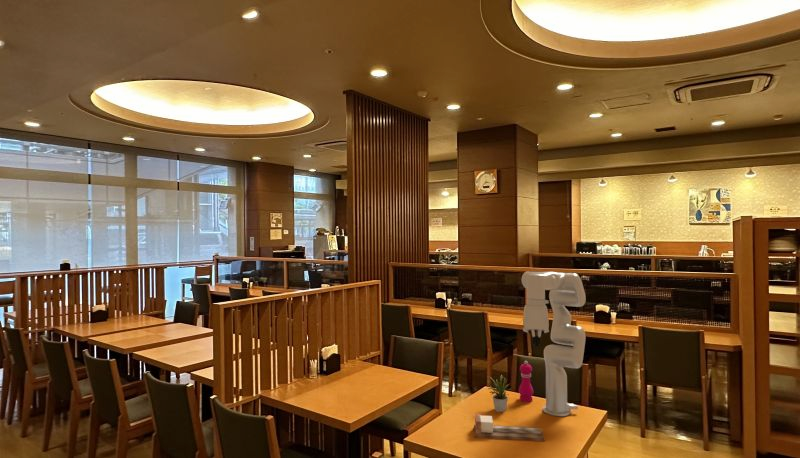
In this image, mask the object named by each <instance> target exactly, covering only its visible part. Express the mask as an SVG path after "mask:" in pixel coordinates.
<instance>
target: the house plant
mask: <svg viewBox="0 0 800 458" xmlns="http://www.w3.org/2000/svg"><path fill="white" fill-rule="evenodd" d="M487 377H488V378H489V379H491V380H492V383H491V381H489V380H488V383H491V385H488V386H489V387H488V390H490V391H489V394H490V396H491V395H493V394H494V395H493V396H492V400H493V401H492V402H493V408H494V410H495V412H498V413H504V412H506V411H507V404H508V400H509V399H508V396H509V393H508V394H507V391H509V390H511V388H509V389H507V388H508V387H509V386H510V383H509V384H507V383H508V382H507V381H508V378H507V379H506V378H504V376H503V375H502V374H501V375H500V377H499V380H498V379H496V378H495V380H494V379H493V378H492V377H491V376H488V375H487ZM503 378H504V379H503ZM502 381H503V382H502ZM492 386H493V387H492Z"/></svg>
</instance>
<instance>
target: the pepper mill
mask: <svg viewBox="0 0 800 458" xmlns="http://www.w3.org/2000/svg"><path fill="white" fill-rule="evenodd" d="M519 371H520V377H521V383H520V385H519V387H518V393H519V400H520V401H521V402H523V403H532V401H533V396H534V388H533V386H532V384H531V377H532V372H533V367H532V366H531V364H529V362H528V361H527V360H524V363H522V364H521V365H520V366H519Z"/></svg>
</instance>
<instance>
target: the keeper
mask: <svg viewBox="0 0 800 458" xmlns="http://www.w3.org/2000/svg"><path fill="white" fill-rule="evenodd" d="M480 418H481V432H487V433H493V426H494V421H493V416H492V415H482V414H480Z"/></svg>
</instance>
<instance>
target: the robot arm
mask: <svg viewBox="0 0 800 458" xmlns="http://www.w3.org/2000/svg"><path fill="white" fill-rule="evenodd" d="M521 284H522V286H523V288H525V289H526V304H525V305H524V308H523V315H522V316H523V319H522V321H523V322H522V325H523V328H522V331H523V332H525V333H528V334H529V335H530V336H531V343H532V345H533V347H535V348H536V347H539V345H540V344H541V337H542V336H543V335H544V334H547V333H549V332H550V340H551V341H552V342H553V343H556V344H549V345H546V346H545V347H544V349H543V357H544V358H543V359H544V362H545V363H544V365H545V405H543V406H542V411H543V412H544V413H545V414H547V415H550V416H553V417H567V416H570V415H571V413H572V411H571V410H578V409H579V407H578V405H577V404H574V403H569V402H568V375H567V372H566V370H565V369H564V368H570V369H580V368H581V367H582V365H583V360H584V353H585V345H586V332H585V331H586V330H585V329H584V328H583V327H582V326H578V325H572V319H573V317H572V314H571V313H570V311H569V310H568V309H567V308H566V306H567V307H573V308H574V307H576V308H580V307H583V306H584V305H585V304H586V300H587V299H586V292H585V289H584V288H585V287H584V285H583V281H582V279H581V277H580V276H579V275H578V273H573V272H557V271H556V272H555V271H525V272H524V273H523V274H522V276H521ZM546 291H549V294H548V298H549V300H548V299H546ZM546 304H550V306H551V309H552V312H553V318H552V325H551V331H550V329H549V326H550V323H549V313H548V312H549V311H548V307H547V305H546ZM535 330H536V333H535ZM565 345H566V346H565Z"/></svg>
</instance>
